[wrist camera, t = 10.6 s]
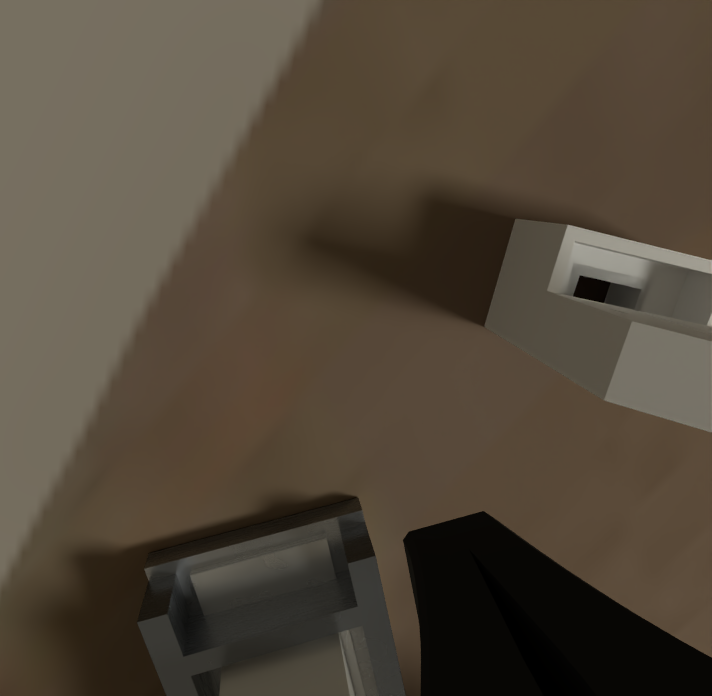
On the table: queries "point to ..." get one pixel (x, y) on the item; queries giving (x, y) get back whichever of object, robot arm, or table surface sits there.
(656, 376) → the white wedge bracket
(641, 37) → the table surface
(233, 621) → the rail mount
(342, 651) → the module
